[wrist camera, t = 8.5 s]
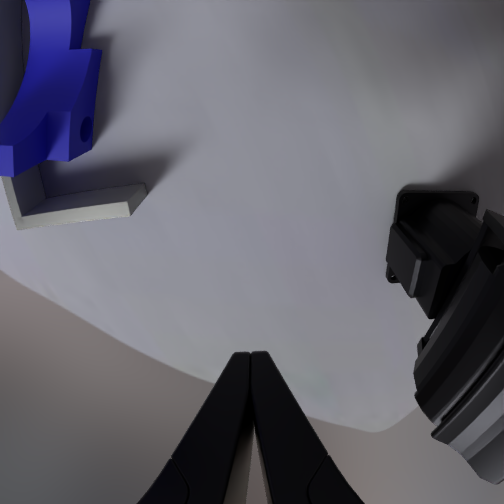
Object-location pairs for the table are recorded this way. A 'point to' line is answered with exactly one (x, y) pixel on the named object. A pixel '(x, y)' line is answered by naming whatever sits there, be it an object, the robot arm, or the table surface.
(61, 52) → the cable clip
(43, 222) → the grey u-shaped bracket
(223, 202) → the table surface
